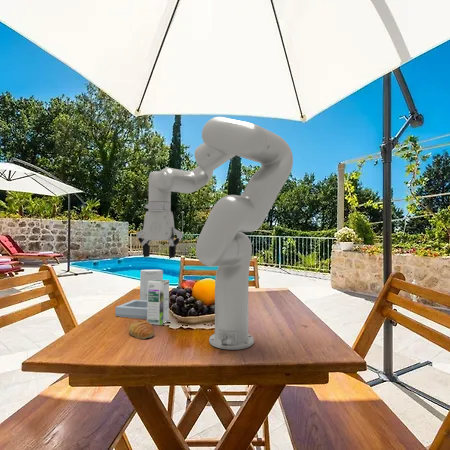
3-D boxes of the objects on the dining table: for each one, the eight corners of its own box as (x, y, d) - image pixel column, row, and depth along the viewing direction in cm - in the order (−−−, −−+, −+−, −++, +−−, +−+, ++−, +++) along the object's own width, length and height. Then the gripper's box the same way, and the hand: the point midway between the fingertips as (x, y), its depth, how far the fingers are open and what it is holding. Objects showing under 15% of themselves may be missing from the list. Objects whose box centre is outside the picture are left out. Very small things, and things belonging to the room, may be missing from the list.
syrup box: (146, 324, 107) (146, 281, 108) (154, 319, 113) (154, 278, 113) (162, 325, 106) (162, 281, 106) (169, 320, 112) (169, 279, 112)
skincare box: (143, 307, 131) (144, 271, 131) (139, 304, 136) (139, 269, 136) (163, 305, 135) (163, 269, 136) (157, 302, 140) (158, 268, 141)
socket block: (147, 319, 113) (147, 309, 113) (115, 316, 117) (115, 306, 117) (163, 310, 126) (163, 301, 126) (134, 308, 129) (134, 299, 129)
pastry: (159, 337, 95) (159, 324, 95) (137, 342, 91) (138, 329, 91) (147, 329, 102) (147, 317, 102) (126, 333, 98) (126, 321, 98)
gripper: (131, 207, 109) (130, 257, 109) (178, 206, 104) (177, 259, 104) (142, 208, 116) (142, 255, 116) (187, 208, 112) (186, 257, 111)
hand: (159, 257), depth 110 cm, fingers open, 9 cm apart
